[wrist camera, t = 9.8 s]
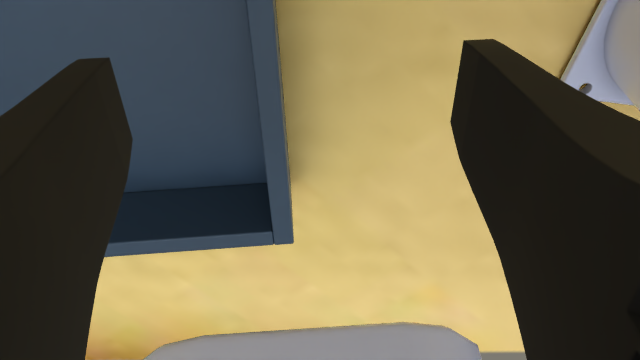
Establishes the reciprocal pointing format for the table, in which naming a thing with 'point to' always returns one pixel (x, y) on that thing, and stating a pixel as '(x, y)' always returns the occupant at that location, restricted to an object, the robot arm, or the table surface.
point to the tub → (174, 111)
